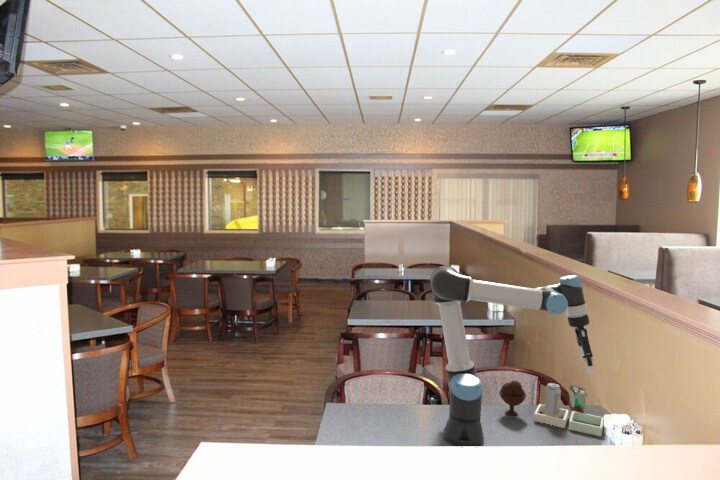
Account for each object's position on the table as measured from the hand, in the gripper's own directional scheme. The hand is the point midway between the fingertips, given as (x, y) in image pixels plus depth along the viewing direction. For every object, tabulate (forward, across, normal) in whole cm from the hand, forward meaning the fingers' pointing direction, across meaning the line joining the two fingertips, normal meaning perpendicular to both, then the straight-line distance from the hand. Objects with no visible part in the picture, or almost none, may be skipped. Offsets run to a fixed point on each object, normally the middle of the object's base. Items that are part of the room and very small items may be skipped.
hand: (588, 367), depth 200 cm
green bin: (+27, +7, +5) cm, 28 cm away
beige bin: (+24, +10, +18) cm, 31 cm away
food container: (+28, +23, +6) cm, 36 cm away
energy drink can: (+24, +10, +18) cm, 31 cm away
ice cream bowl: (+20, +10, +33) cm, 40 cm away
